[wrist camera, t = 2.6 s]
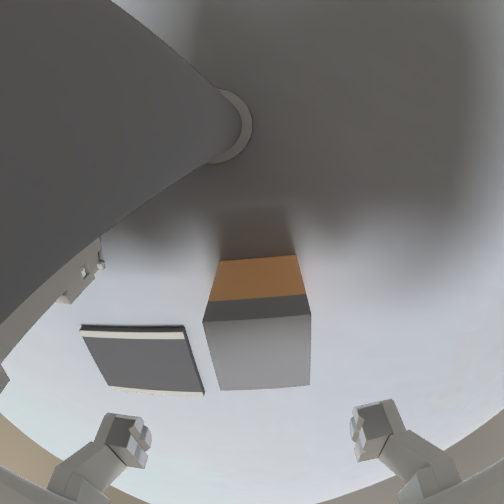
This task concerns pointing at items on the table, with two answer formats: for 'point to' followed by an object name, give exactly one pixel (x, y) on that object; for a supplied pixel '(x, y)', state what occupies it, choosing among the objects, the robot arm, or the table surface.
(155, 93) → the cord posts
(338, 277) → the table surface
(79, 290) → the circuit breaker
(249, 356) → the orange and grey block
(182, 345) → the mat
